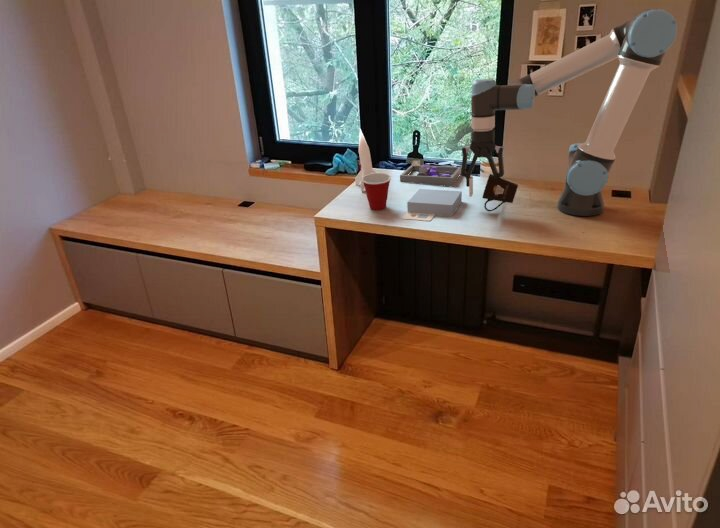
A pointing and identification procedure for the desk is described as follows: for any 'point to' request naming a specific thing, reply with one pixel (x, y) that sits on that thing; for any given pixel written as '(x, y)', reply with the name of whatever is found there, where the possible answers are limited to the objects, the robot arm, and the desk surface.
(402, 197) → the desk surface
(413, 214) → the page
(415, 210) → the base brick
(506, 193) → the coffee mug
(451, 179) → the tray
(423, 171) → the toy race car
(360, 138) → the rocket
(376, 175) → the plastic cup
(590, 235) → the desk surface
